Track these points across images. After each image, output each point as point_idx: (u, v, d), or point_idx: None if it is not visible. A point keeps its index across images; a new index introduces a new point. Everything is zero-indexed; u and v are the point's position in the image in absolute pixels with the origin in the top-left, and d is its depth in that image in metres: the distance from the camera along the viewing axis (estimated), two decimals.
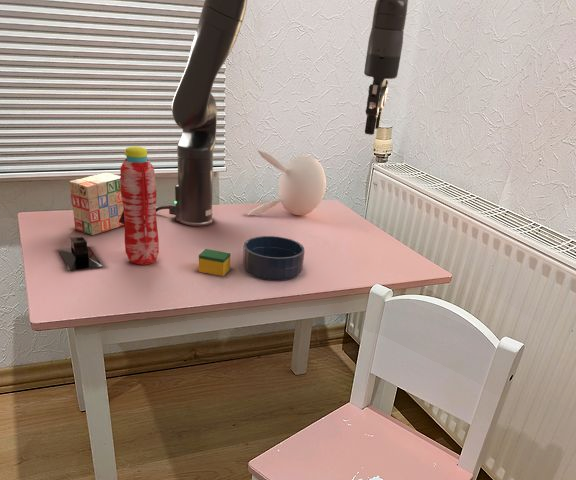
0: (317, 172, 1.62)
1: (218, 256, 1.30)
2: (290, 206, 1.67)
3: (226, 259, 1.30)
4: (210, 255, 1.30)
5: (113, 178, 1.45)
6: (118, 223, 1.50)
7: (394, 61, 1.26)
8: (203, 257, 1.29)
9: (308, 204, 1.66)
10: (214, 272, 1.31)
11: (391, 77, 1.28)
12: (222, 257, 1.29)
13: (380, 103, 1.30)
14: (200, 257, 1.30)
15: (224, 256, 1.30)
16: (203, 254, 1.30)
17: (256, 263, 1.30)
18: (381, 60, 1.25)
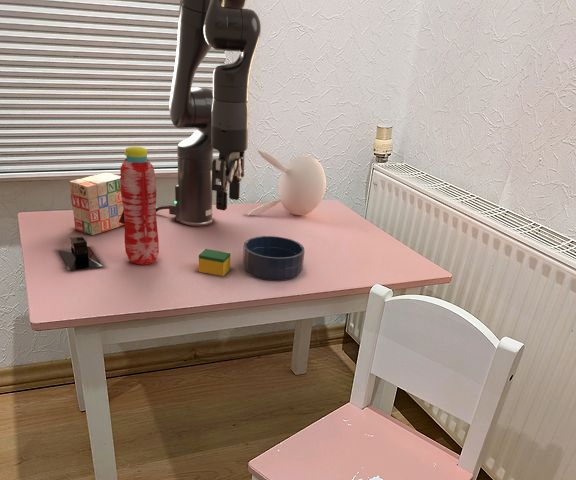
0: (317, 172, 1.62)
1: (218, 256, 1.30)
2: (290, 206, 1.67)
3: (226, 259, 1.30)
4: (210, 255, 1.30)
5: (113, 178, 1.45)
6: (118, 223, 1.50)
7: (238, 134, 1.15)
8: (203, 257, 1.29)
9: (308, 204, 1.66)
10: (214, 272, 1.31)
11: (238, 151, 1.17)
12: (222, 257, 1.29)
13: (229, 178, 1.19)
14: (200, 257, 1.30)
15: (224, 256, 1.30)
16: (203, 254, 1.30)
17: (256, 263, 1.30)
18: (224, 134, 1.15)
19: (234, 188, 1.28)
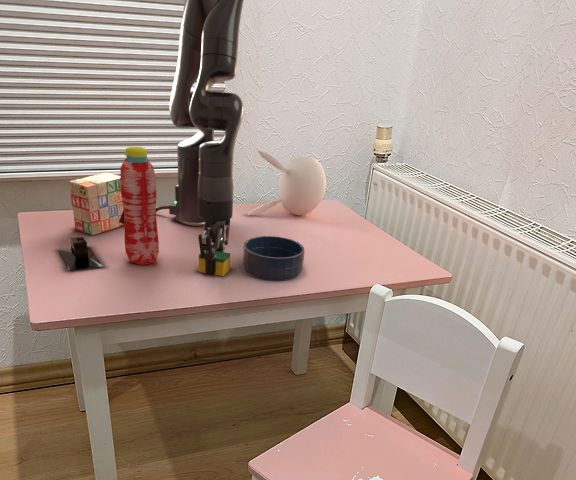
0: (317, 172, 1.62)
1: (218, 256, 1.30)
2: (290, 206, 1.67)
3: (226, 259, 1.30)
4: None
5: (113, 178, 1.45)
6: (118, 223, 1.50)
7: (223, 205, 1.22)
8: None
9: (308, 204, 1.66)
10: None
11: (223, 220, 1.23)
12: (222, 257, 1.29)
13: (216, 246, 1.27)
14: (200, 257, 1.30)
15: (224, 256, 1.30)
16: None
17: (256, 263, 1.30)
18: (209, 205, 1.21)
19: None
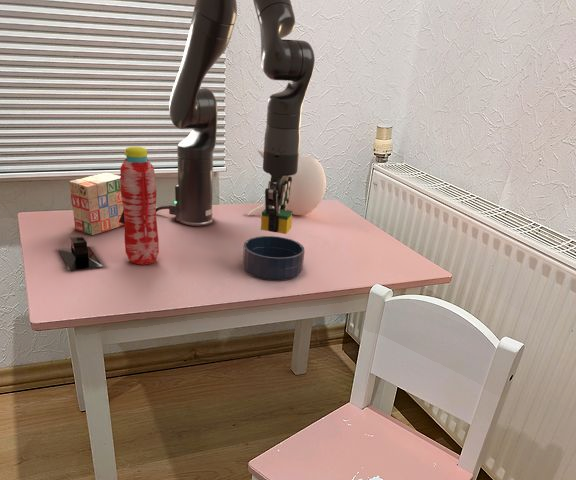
0: (317, 172, 1.62)
1: (281, 213, 1.28)
2: (290, 206, 1.67)
3: (289, 216, 1.29)
4: None
5: (113, 178, 1.45)
6: (118, 223, 1.50)
7: (290, 159, 1.20)
8: (266, 214, 1.28)
9: (308, 204, 1.66)
10: None
11: (289, 174, 1.22)
12: (285, 214, 1.28)
13: (280, 202, 1.25)
14: (263, 214, 1.28)
15: (287, 213, 1.28)
16: None
17: (256, 263, 1.30)
18: (277, 158, 1.19)
19: None
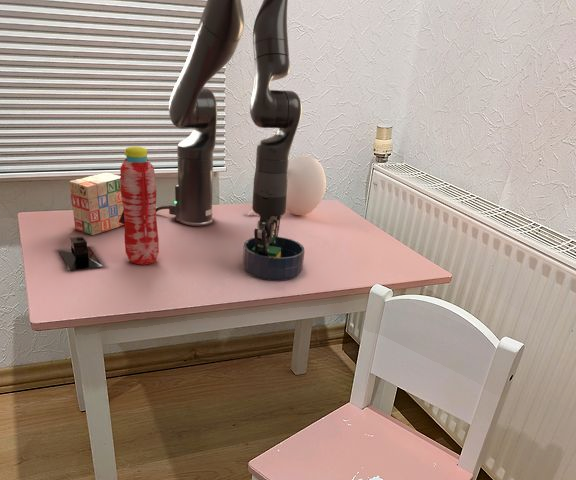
0: (317, 172, 1.62)
1: (270, 250, 1.34)
2: (290, 206, 1.67)
3: (278, 253, 1.34)
4: None
5: (113, 178, 1.45)
6: (118, 223, 1.50)
7: (278, 201, 1.25)
8: None
9: (308, 204, 1.66)
10: None
11: (277, 215, 1.27)
12: (274, 251, 1.33)
13: (269, 241, 1.30)
14: (253, 251, 1.33)
15: (276, 250, 1.34)
16: None
17: (256, 263, 1.30)
18: (265, 200, 1.25)
19: None
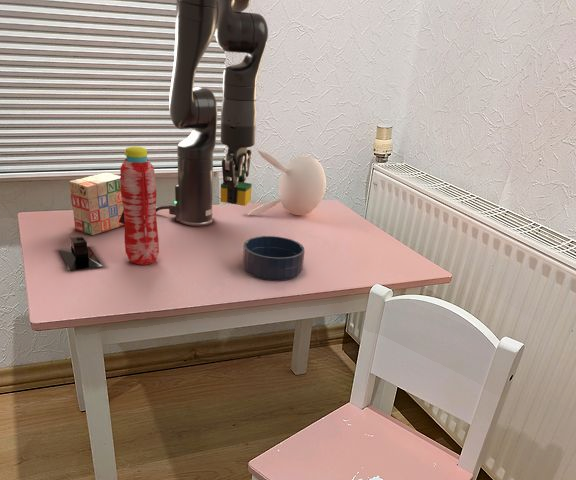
0: (317, 172, 1.62)
1: (240, 185, 1.31)
2: (290, 206, 1.67)
3: (248, 189, 1.32)
4: None
5: (113, 178, 1.45)
6: (118, 223, 1.50)
7: (246, 131, 1.23)
8: (225, 186, 1.31)
9: (308, 204, 1.66)
10: None
11: (246, 146, 1.25)
12: (244, 186, 1.31)
13: (238, 174, 1.28)
14: (222, 186, 1.31)
15: (246, 185, 1.31)
16: None
17: (256, 263, 1.30)
18: (233, 130, 1.22)
19: None
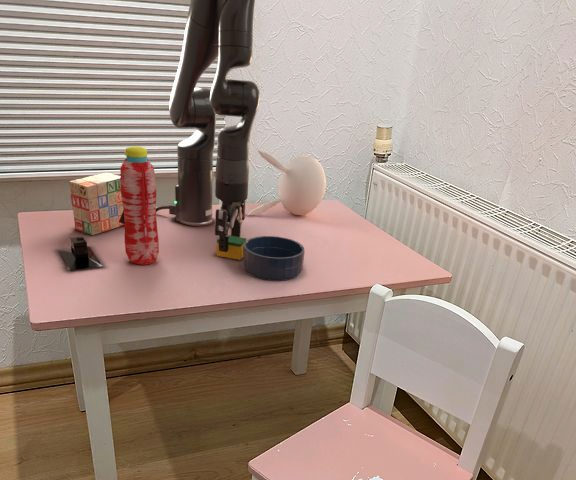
0: (317, 172, 1.62)
1: (235, 241, 1.39)
2: (290, 206, 1.67)
3: (242, 244, 1.39)
4: None
5: (113, 178, 1.45)
6: (118, 223, 1.50)
7: (239, 187, 1.30)
8: None
9: (308, 204, 1.66)
10: (231, 256, 1.40)
11: (239, 201, 1.32)
12: (239, 242, 1.38)
13: (230, 224, 1.34)
14: (218, 242, 1.39)
15: (241, 241, 1.39)
16: None
17: (256, 263, 1.30)
18: (226, 187, 1.29)
19: (235, 230, 1.43)
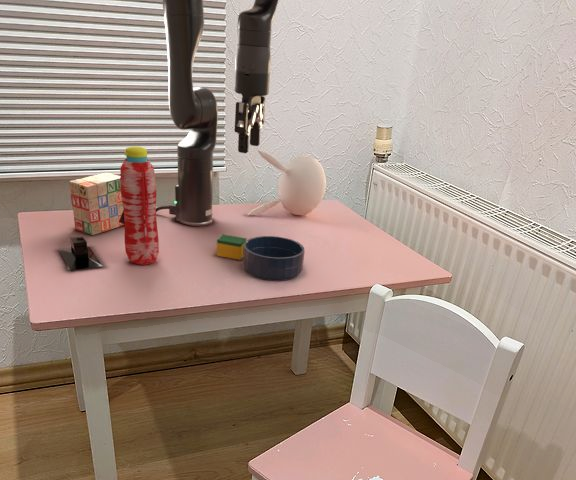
0: (317, 172, 1.62)
1: (235, 241, 1.39)
2: (290, 206, 1.67)
3: (242, 244, 1.39)
4: (228, 240, 1.39)
5: (113, 178, 1.45)
6: (118, 223, 1.50)
7: (261, 78, 1.22)
8: (221, 242, 1.38)
9: (308, 204, 1.66)
10: (231, 256, 1.40)
11: (260, 94, 1.23)
12: (239, 242, 1.38)
13: (251, 121, 1.25)
14: (218, 242, 1.39)
15: (241, 241, 1.39)
16: (221, 239, 1.39)
17: (256, 263, 1.30)
18: (247, 77, 1.21)
19: (255, 134, 1.34)
